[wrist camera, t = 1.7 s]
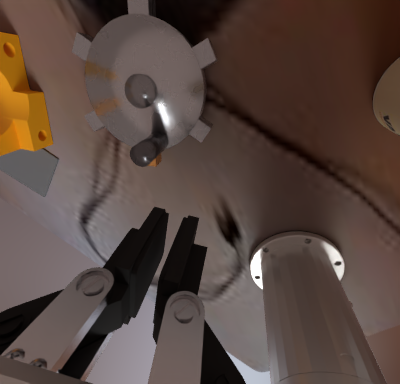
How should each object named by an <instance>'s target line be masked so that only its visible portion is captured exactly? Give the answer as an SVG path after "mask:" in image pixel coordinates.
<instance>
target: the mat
mask: <svg viewBox="0 0 400 384" xmlns="http://www.w3.org/2000/svg"><path fill="white" fill-rule="evenodd" d="M58 160H59V159H58V158H57V157H55V156H54V155H52V154H51V153H49V152H48V151H46V150H45V149H43V148H42V149H39V150H37V151H29V150H24V149H19V150H16V151H13V152H10V153H8V154H5V155H2V156H0V170H1V171H3V172H5V173H6V174H8V175H9V176H11V177H13V178H14V179H16V180H17V181H19V182H21V183H22V184H24V185H25V186H27V187H29V188H30V189H32V190H33V191H35V192H37V193H38V194H40V195H41V196H43V197H45V196H46V193H47V190H48V188H49V185H50V182H51V179H52V177H53V174H54V171H55V168H56V165H57V163H58Z"/></svg>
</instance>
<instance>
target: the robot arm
mask: <svg viewBox="0 0 400 384" xmlns="http://www.w3.org/2000/svg"><path fill="white" fill-rule="evenodd" d="M168 216H169V213H166V211H165V209H161V208H157V207H154V208H153V210H152V211H151V213H150V214H149V216H148V217H147V219H146V220H145V222H144V223H143V225H142V226H141V228H140V229H135V228H132V229H131V230H130V231H129V232H128V233H127V235H126V236H125V238H124V239H123V240H122V242H121V243H120V244H119V246H118V247H117V249H116V250H115V251H114V253H113V254H112V256H111V257H110V258H109V260H108V261H107V262H106V264H105V265H104V267H103V268H100V267H98V268H91V269H87V270H85V271H83V272H81V273H80V274H79V275H78V276H77V277H75V279H74V280H73V281H72V282H71V283H70V284H69V285H68V286H67V287H66V288H65V289H63V290H60V291H57V292H54V293H52V294H49V295H46V296H43V297H40V298H38V299H35V300H32V301H29V302H26V303H23V304H21V305H18V306H15V307H12V308H9V309H7V310H5V311H3V312H1V313H0V384H92V383H88V382H85V380H86V378H87V377H88V375H89V374H90V372H91V370H92V368H93V367H94V365H95V364H96V362H97V360H98V359H99V357H100V355H101V354H102V352H103V350H104V349H105V347H106V345H107V344H108V342H109V340H110V339H111V337H112V335H113V333H114V331H115V330H117V329H119V328H121V326H122V325H123V323H124V324H128V323H129V321H130V319H131V317H133V318H135V317H136V315H137V313H138V311H139V309H140V306H141V304H142V302H143V300H144V297H145V295H146V293H147V291H148V288H149V286H150V284H151V282H152V279H153V277H154V275H155V272H156V270H157V268H158V266H159V263H160V261H161V259H162V256H163V253H164V246H165V239H166V231H167V223H168ZM198 221H199V218H197V217H193V216H188V218H185V217H184V218H183V220H182V223H181V225H180V228H179V230H178V232H177V235H176V237H175V240H174V242H173V244H172V247H171V249H170V252H169V254H168V257H167V259H166V261H165V264H164V266H163V269H162V271H161V274H160V277H159V281H158V288H157V296H156V304H155V312H154V320H153V323H154V331H153V338H154V340H155V342H156V345H157V346H156V350H155V355H154V359H153V363H152V368H151V372H150V376H149V381H148V384H246V383H245V381H244V379H243V377H242V375H241V374H240V372H239V371H238V370H237V368H236V366H235V365H234V363H233V362H232V360H231V359H230V357H229V356H228V354H227V353H226V351H225V350H224V348H223V347H222V345H221V344H220V342H219V341H218V339H217V338H216V336H215V335H214V333H213V331H212V330H211V328H210V327H209V325H208V324H207V322H206V321H205V319H204V316H205V310H204V305H203V302H202V300H201V299H200V298H199V297H198V296H197V295H198V290H199V285H200V281H201V276H202V271H203V266H204V261H205V257H206V252H207V247H204V246H201V245H197V244H194V239H195V235H196V230H197V226H198ZM344 271H345V263H344V260H343V257H342V255H341V253H340V252H339V250H338V249H337V247H336V246H335V245H334V244H333V243H332V242H330V241H329V240H328V239H326V238H324V237H322V236H320V235H317V234H313V233H309V232H302V231H291V232H285V233H280V234H277V235H274V236H272V237H270V238H268V239H266V240H264V241H263V242H262V243H260V244H259V245H258V246H257V247H256V248H255V250H254V252H253V253H252V255H251V259H250V272H251V276H252V278H253V280H254V281H255V283H256V284H257V285H258V286H259V287H260V288H261V289H263V299H264V310H265V321H266V333H267V344H268V355H269V366H270V378H271V384H387V383H386V380H385V378H384V376H383V374H382V372H381V369H380V367H379V365H378V363H377V361H376V359H375V356H374V354H373V352H372V350H371V348H370V346H369V344H368V341H367V339H366V337H365V335H364V333H363V330H362V328H361V326H360V324H359V322H358V320H357V317H356V315H355V313H354V311H353V309H352V307H353V306H352V303H351V302H350V301H349V300H348V298H347V296H346V294H345V292H344V289H343V287H342V285H341V283H340V280H341V279H342V277H343V274H344Z"/></svg>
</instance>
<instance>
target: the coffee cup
mask: <svg viewBox="0 0 400 384" xmlns="http://www.w3.org/2000/svg"><path fill="white" fill-rule="evenodd" d="M373 111H374V114H375V116H376V118H377V120H378V121H379V122H380V123H381V124H382V125H383V126H384V127H386V128H387V129H389V130H390V131H392V132H394V133H396V134H397V135H399V136H400V57H399V58H398V59H397V60H396V61H395V62H394V63H393V64H392V65H391V66H390V67H389V68H388V69H387V70H386V71H385V73H384V74H383V75H382V77H381V79H380V80H379V82H378V84H377V86H376V89H375V92H374V96H373Z"/></svg>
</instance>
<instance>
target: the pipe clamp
mask: <svg viewBox="0 0 400 384" xmlns="http://www.w3.org/2000/svg"><path fill="white" fill-rule="evenodd" d="M52 144H53V140H52V135H51V130H50V125H49V119H48V114H47V109H46V103H45V98H44V93H43V92H38V91H32V90H30V88H29V84H28V79H27V74H26V70H25V65H24V60H23V56H22V51H21V46H20V42H19V37H18V35H14V34H8V33H3V32H0V156H2V155H5V154H8V153H10V152H13V151H16V150H19V149H24V150H29V151H37V150H39V149H42V148H44V147H47V146H50V145H52Z"/></svg>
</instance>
